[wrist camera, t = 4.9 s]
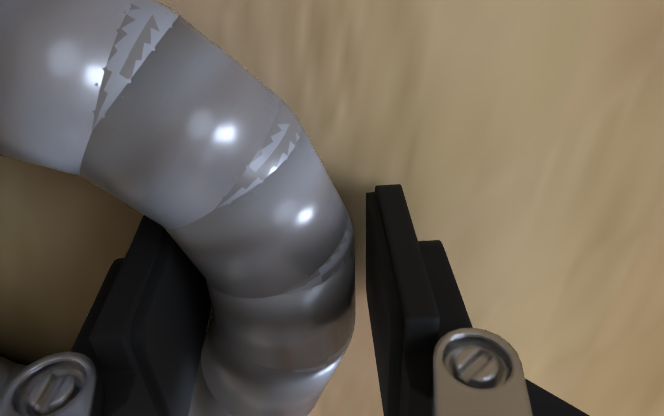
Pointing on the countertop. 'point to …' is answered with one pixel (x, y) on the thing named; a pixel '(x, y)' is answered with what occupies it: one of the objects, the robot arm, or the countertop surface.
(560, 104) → the countertop surface
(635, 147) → the countertop surface
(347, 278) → the grey ridged ring
